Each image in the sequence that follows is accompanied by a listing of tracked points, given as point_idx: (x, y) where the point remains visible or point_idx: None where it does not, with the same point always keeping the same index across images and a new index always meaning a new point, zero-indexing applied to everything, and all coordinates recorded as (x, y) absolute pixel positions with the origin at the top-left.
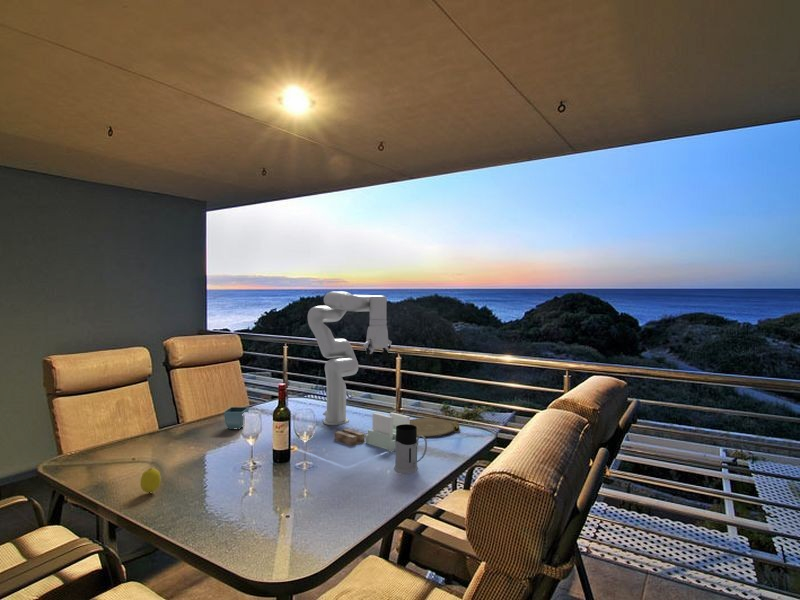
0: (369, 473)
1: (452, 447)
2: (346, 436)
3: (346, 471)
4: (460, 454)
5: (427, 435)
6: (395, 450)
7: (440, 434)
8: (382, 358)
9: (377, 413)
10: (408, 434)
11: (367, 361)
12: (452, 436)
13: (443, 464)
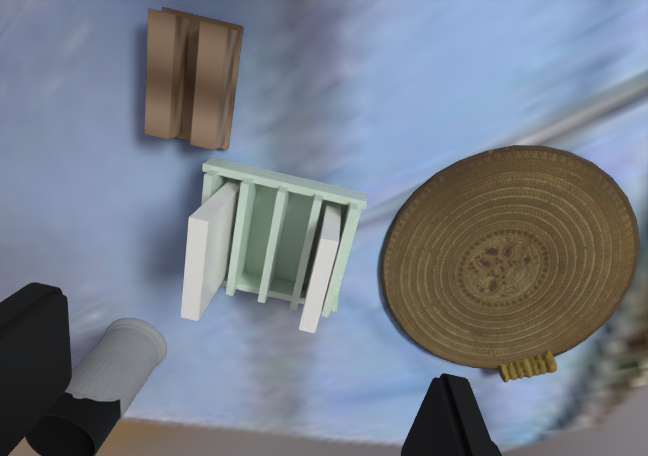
0: (49, 283)
1: (343, 390)
2: (146, 96)
3: (11, 227)
4: (302, 417)
5: (395, 312)
6: (83, 359)
7: (420, 345)
8: (438, 401)
9: (202, 238)
10: (50, 442)
11: (26, 296)
12: (443, 365)
13: (216, 402)
